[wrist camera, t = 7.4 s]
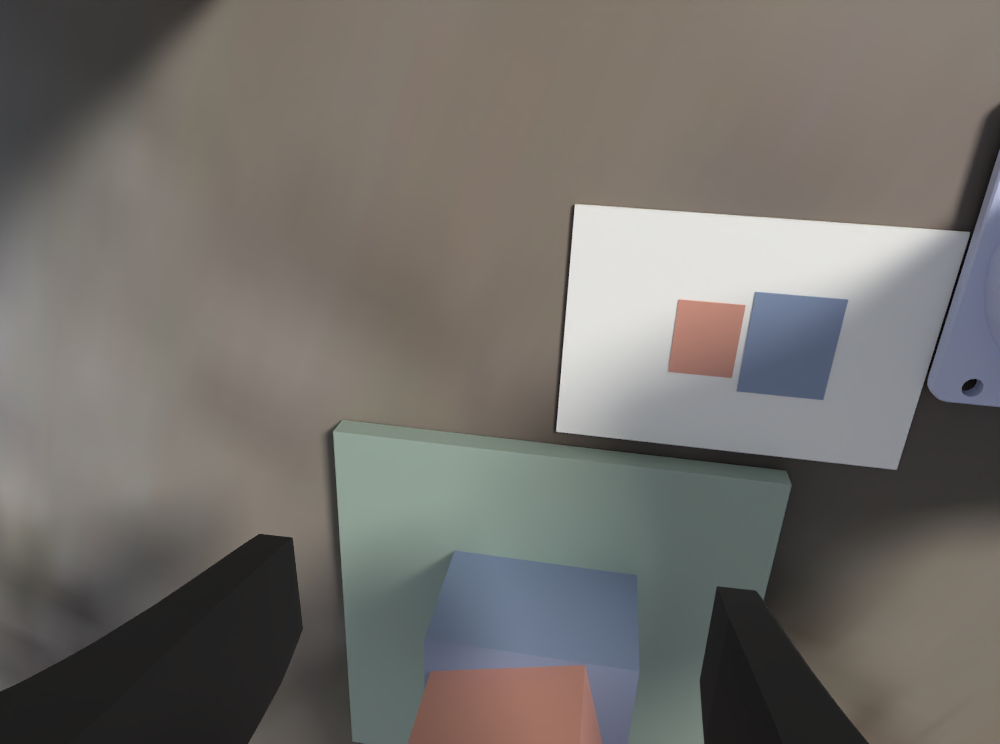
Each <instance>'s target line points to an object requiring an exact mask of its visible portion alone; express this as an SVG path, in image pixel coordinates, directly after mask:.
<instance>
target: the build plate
mask: <svg viewBox="0 0 1000 744" xmlns="http://www.w3.org/2000/svg"><path fill="white" fill-rule="evenodd" d="M333 437H334V454H335V470H336V486H337V502H338V518H339V535H340V551H341V567H342V583H343V600H344V616H345V632H346V648H347V664H348V681H349V697H350V713H351V729H352V742H358V743H364V744H408V741H409V737H410V734H411V731H412V728H413V725H414V722H415V718H416V715H417V712H418V709H419V706H420V703H421V700H422V696H423V693H424V638H425V635H426V632H427V629H428V626H429V623H430V620H431V617H432V615H433V612H434V609H435V606H436V603H437V600H438V597H439V594H440V591H441V589H442V586H443V583H444V580H445V577H446V574H447V571H448V568H449V566H450V563H451V560H452V557H453V554H454V551H462V552H469V553H477V554H484V555H491V556H499V557H506V558H514V559H521V560H528V561H536V562H543V563H550V564H558V565H565V566H572V567H580V568H587V569H595V570H602V571H609V572H617V573H624V574H631V575H637V594H638V635H639V677H638V683H637V690H636V696H635V702H634V708H633V714H632V720H631V727H630V733H629V739H628V744H704V735H703V723H702V709H701V694H700V676H701V670H702V665H703V659H704V654H705V648H706V643H707V637H708V632H709V626H710V621H711V615H712V610H713V604H714V599H715V594H716V588H717V586H721V587H730V588H738V589H747V590H756V591H757V592H758V594H759V595H760V596H761V597H762V599H763V600H764V597H765V593H766V588H767V584H768V580H769V576H770V572H771V568H772V564H773V560H774V556H775V552H776V547H777V543H778V539H779V535H780V531H781V527H782V523H783V519H784V515H785V510H786V506H787V502H788V498H789V494H790V490H791V486H792V484H791V482H790V479H789V477H788V474H787V472H786V471H785V470H776V469H767V468H759V467H750V466H741V465H733V464H724V463H715V462H706V461H698V460H689V459H680V458H671V457H663V456H654V455H645V454H636V453H628V452H619V451H610V450H601V449H593V448H584V447H575V446H566V445H558V444H549V443H540V442H531V441H523V440H514V439H505V438H496V437H488V436H479V435H470V434H461V433H453V432H444V431H435V430H426V429H418V428H409V427H400V426H391V425H383V424H374V423H365V422H356V421H348V420H342V421H341V422H340V423H339V425H338V426H337V427H336V428H335V430H334V431H333Z"/></svg>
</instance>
